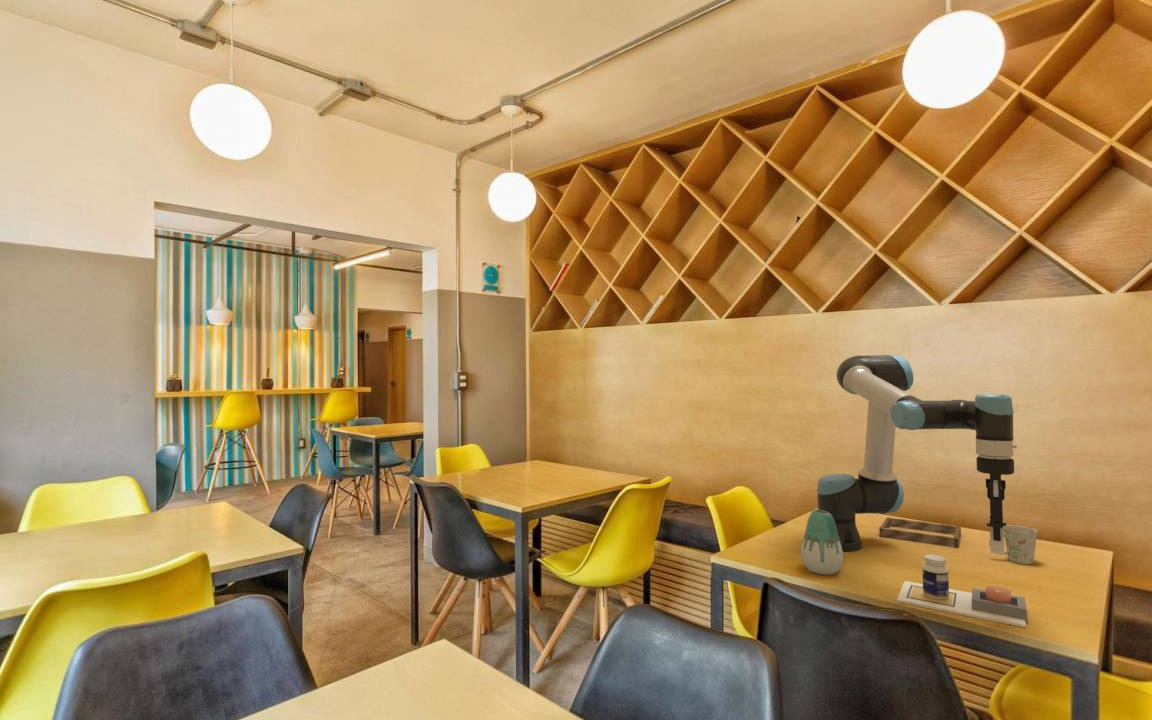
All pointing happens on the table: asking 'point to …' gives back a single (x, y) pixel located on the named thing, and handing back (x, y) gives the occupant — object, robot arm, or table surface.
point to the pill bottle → (935, 577)
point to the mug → (1020, 543)
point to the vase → (821, 544)
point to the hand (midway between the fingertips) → (997, 552)
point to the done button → (998, 594)
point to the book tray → (921, 537)
